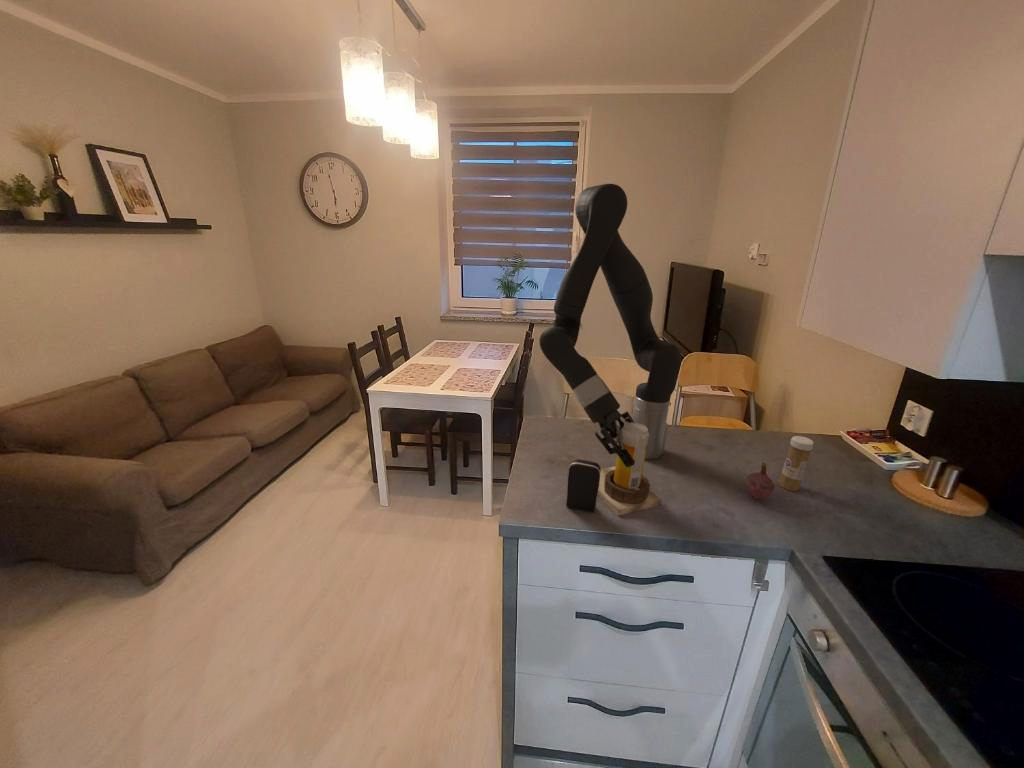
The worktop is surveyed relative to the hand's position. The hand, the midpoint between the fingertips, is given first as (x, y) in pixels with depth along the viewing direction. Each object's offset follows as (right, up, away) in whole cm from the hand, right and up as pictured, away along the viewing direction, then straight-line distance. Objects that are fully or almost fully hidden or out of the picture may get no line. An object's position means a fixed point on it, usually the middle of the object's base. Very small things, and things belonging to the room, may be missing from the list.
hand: (637, 459), depth 93 cm
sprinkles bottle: (+42, -9, +11) cm, 45 cm away
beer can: (-1, -7, +3) cm, 8 cm away
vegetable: (+31, -11, +5) cm, 33 cm away
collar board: (-2, -9, +7) cm, 11 cm away
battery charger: (-13, -11, +1) cm, 17 cm away
